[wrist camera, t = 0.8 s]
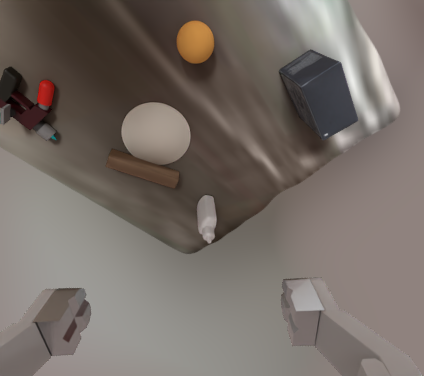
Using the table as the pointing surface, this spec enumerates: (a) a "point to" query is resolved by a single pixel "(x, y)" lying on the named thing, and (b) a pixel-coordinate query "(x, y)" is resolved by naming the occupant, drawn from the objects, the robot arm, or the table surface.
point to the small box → (320, 93)
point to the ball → (195, 42)
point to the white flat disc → (156, 133)
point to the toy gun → (26, 104)
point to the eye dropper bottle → (206, 217)
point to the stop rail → (142, 168)
